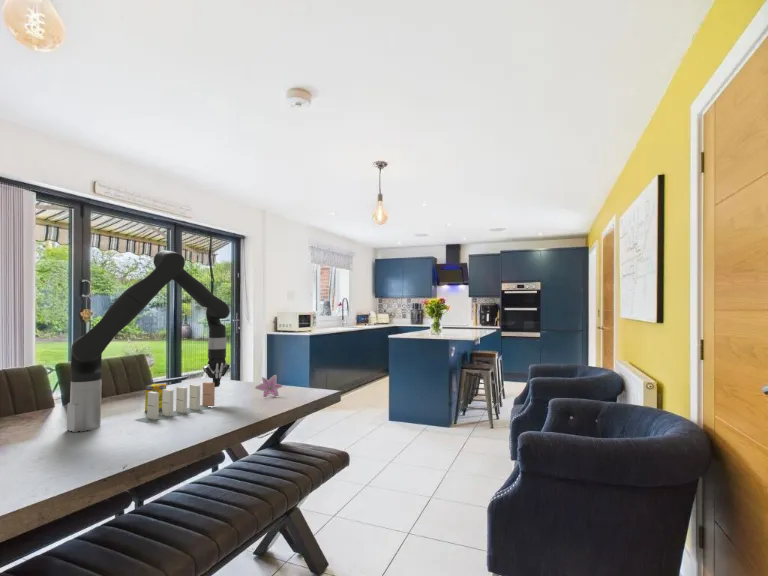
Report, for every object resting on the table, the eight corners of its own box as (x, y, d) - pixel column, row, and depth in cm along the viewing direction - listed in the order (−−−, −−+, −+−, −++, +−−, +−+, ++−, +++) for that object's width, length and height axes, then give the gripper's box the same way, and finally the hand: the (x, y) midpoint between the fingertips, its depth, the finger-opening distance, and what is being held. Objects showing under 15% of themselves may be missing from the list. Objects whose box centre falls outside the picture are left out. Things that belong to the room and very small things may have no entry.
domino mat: (146, 423, 159) (146, 423, 159) (133, 420, 164) (133, 419, 164) (218, 407, 185) (218, 406, 185) (205, 404, 190) (205, 404, 190)
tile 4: (169, 416, 169) (169, 390, 169) (161, 414, 172) (162, 389, 172) (173, 415, 170) (173, 390, 171) (165, 413, 173) (166, 388, 173)
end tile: (154, 419, 164) (154, 393, 164) (147, 417, 167) (147, 392, 167) (158, 418, 165) (158, 392, 166) (151, 417, 168) (151, 391, 168)
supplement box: (158, 412, 176) (159, 386, 177) (144, 412, 176) (145, 386, 177) (166, 409, 182) (166, 383, 182) (152, 409, 182) (153, 383, 183)
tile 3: (183, 413, 174) (183, 388, 175) (176, 411, 177) (176, 387, 177) (186, 412, 175) (187, 387, 176) (179, 410, 178) (180, 386, 179)
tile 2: (196, 410, 179) (196, 386, 180) (189, 408, 182) (189, 385, 182) (200, 409, 180) (200, 385, 181) (192, 407, 183) (193, 384, 184)
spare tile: (211, 406, 186) (212, 383, 186) (202, 405, 187) (202, 382, 188) (214, 405, 187) (214, 382, 188) (204, 405, 189) (205, 382, 189)
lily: (251, 399, 205) (254, 383, 202) (261, 386, 216) (264, 370, 213) (274, 407, 205) (278, 391, 201) (283, 393, 216) (287, 378, 212)
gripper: (209, 349, 184) (208, 389, 183) (234, 347, 195) (234, 385, 194) (198, 348, 188) (197, 388, 187) (224, 346, 199) (223, 383, 198)
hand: (216, 386), depth 191 cm, fingers closed
